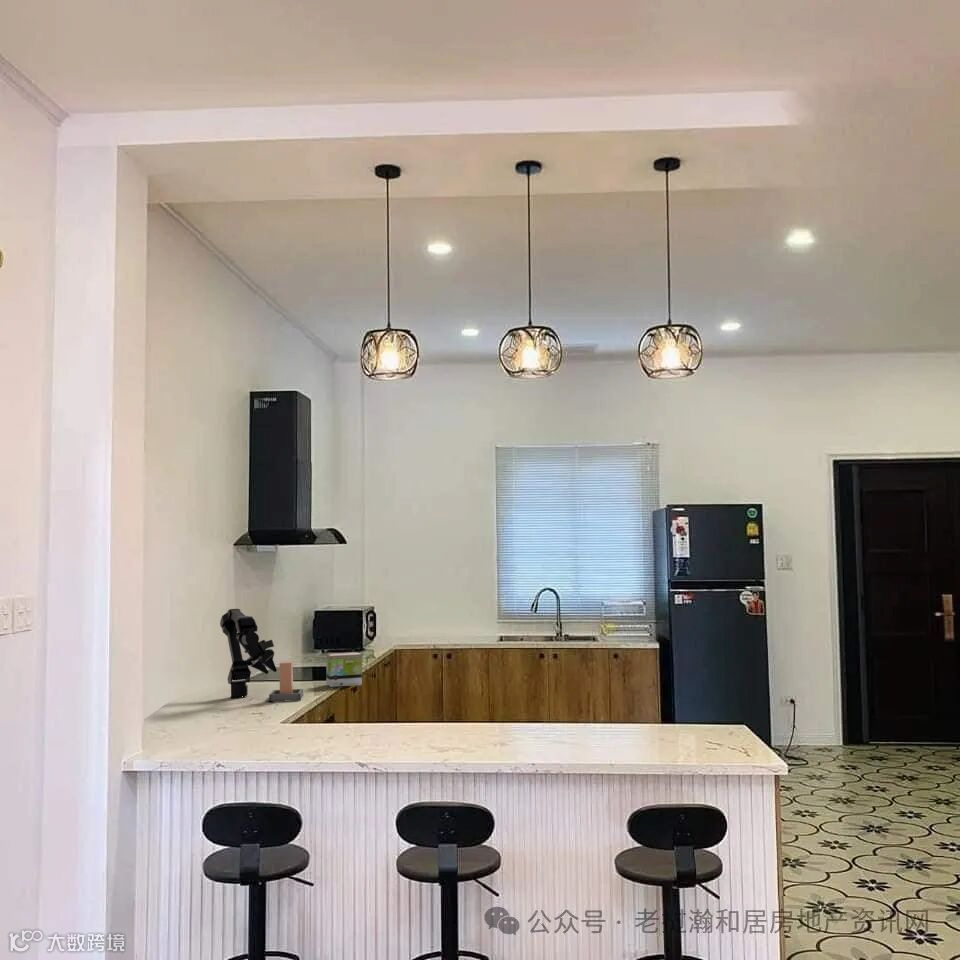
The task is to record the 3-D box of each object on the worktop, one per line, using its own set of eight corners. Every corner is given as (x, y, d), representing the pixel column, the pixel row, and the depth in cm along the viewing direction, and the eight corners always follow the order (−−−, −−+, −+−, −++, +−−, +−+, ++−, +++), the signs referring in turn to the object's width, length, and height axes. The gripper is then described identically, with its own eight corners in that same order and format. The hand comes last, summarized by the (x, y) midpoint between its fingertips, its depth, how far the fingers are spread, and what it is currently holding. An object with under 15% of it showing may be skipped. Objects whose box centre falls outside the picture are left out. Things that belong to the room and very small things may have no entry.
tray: (269, 702, 373) (269, 694, 373) (273, 697, 386) (273, 690, 386) (300, 700, 375) (300, 693, 375) (303, 695, 387) (303, 688, 388)
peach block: (279, 698, 377) (279, 663, 378) (281, 696, 383) (280, 661, 384) (291, 698, 378) (291, 662, 379) (293, 696, 384) (292, 661, 385)
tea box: (330, 688, 408) (330, 655, 409) (326, 685, 417) (325, 653, 418) (362, 685, 414) (362, 653, 415) (357, 682, 423) (356, 651, 424)
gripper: (271, 630, 379) (293, 658, 381) (255, 635, 393) (276, 662, 396) (252, 646, 372) (275, 675, 374) (236, 651, 386) (258, 678, 389)
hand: (271, 672), depth 384 cm, fingers open, 9 cm apart
